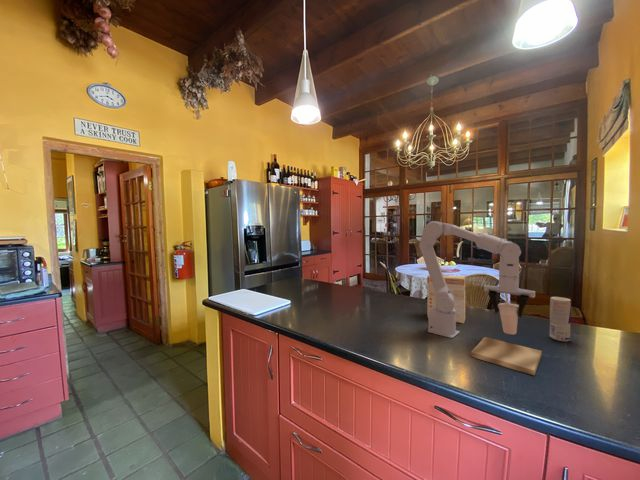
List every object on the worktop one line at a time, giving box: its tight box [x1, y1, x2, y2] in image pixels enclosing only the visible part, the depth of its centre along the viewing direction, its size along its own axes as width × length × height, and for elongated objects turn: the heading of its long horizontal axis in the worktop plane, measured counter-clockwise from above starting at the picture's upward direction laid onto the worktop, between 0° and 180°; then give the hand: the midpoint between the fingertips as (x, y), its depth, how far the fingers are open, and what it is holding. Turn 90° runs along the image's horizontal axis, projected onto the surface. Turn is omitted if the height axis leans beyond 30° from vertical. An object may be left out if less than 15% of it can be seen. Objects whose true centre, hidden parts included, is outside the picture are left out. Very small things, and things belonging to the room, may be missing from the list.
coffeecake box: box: [426, 274, 466, 324], centre depth 120 cm, size 15×7×20 cm, turn 58°
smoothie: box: [498, 293, 519, 335], centre depth 94 cm, size 6×6×14 cm
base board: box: [470, 336, 543, 376], centre depth 85 cm, size 16×16×2 cm
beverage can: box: [549, 296, 572, 342], centre depth 97 cm, size 6×6×15 cm
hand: (508, 314), depth 94 cm, fingers closed on smoothie, 6 cm apart
